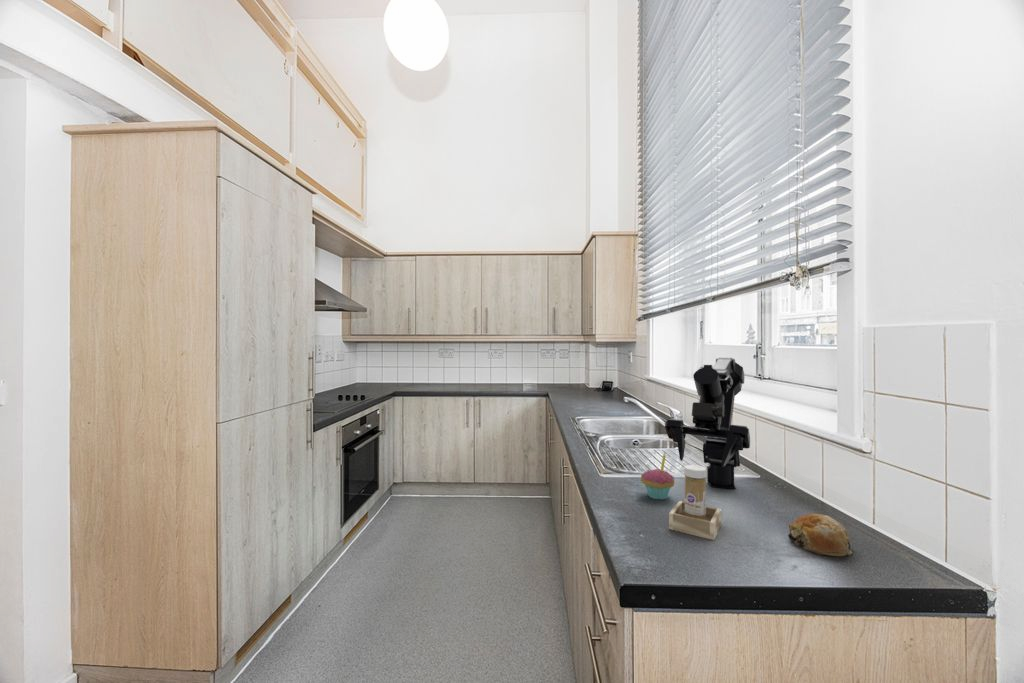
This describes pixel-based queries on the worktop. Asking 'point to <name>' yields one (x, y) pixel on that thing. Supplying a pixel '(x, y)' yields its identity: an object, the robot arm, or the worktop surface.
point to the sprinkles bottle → (695, 491)
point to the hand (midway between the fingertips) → (701, 462)
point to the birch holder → (695, 522)
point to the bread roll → (820, 535)
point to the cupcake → (658, 482)
